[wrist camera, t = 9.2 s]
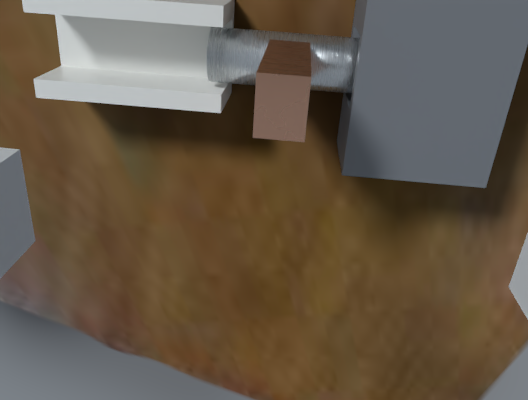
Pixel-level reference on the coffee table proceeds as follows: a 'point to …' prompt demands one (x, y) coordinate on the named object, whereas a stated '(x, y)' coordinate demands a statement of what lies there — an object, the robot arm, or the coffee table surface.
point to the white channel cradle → (135, 52)
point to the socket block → (431, 88)
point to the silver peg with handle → (281, 73)
